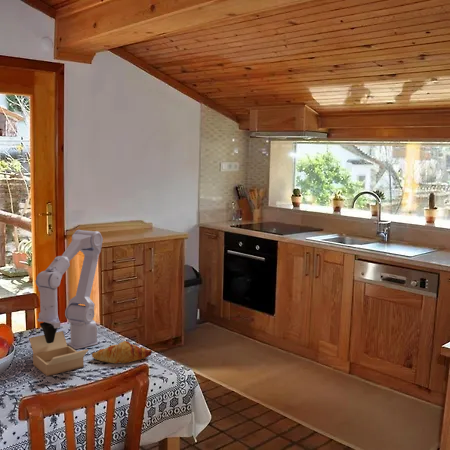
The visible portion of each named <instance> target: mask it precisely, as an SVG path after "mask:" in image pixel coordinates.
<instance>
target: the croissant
mask: <svg viewBox="0 0 450 450" xmlns="http://www.w3.org/2000/svg"><path fill="white" fill-rule="evenodd" d="M152 353H153V351H152V349H147V348H145V347H139V346H138V345H136V344H132V343H130V341H126V340H123V341H121V342H119V343H118V344H112V345H109V346H107V347H106V348H100V349H99V350H97V351H96V352H93V353H91V356H92V358H93V359H94V360H97V361H100V362H104V363H108V364H110V363H111V364H128V363H131V362H134V361H135V362H136V361H142V360H144V359H147V358H148V357H149V356H151V355H152Z"/></svg>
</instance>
